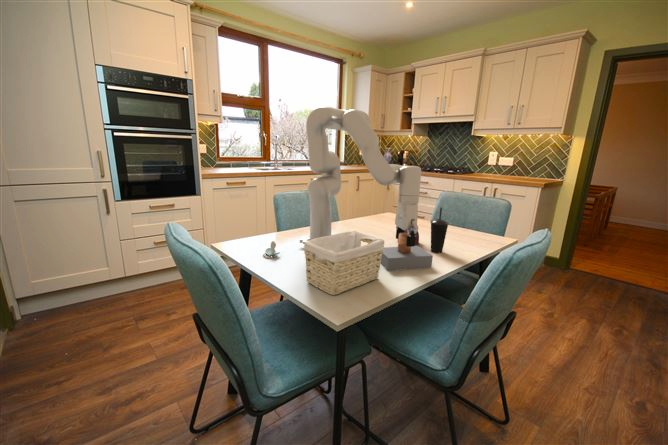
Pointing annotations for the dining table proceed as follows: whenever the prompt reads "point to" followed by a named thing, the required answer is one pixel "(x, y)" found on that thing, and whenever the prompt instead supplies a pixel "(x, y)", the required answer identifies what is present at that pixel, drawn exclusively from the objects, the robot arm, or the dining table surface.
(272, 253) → the pacifier
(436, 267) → the dining table surface
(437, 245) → the drinking cup
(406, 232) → the vegetable
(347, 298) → the dining table surface
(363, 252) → the storage basket
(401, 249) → the cylinder
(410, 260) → the stand
